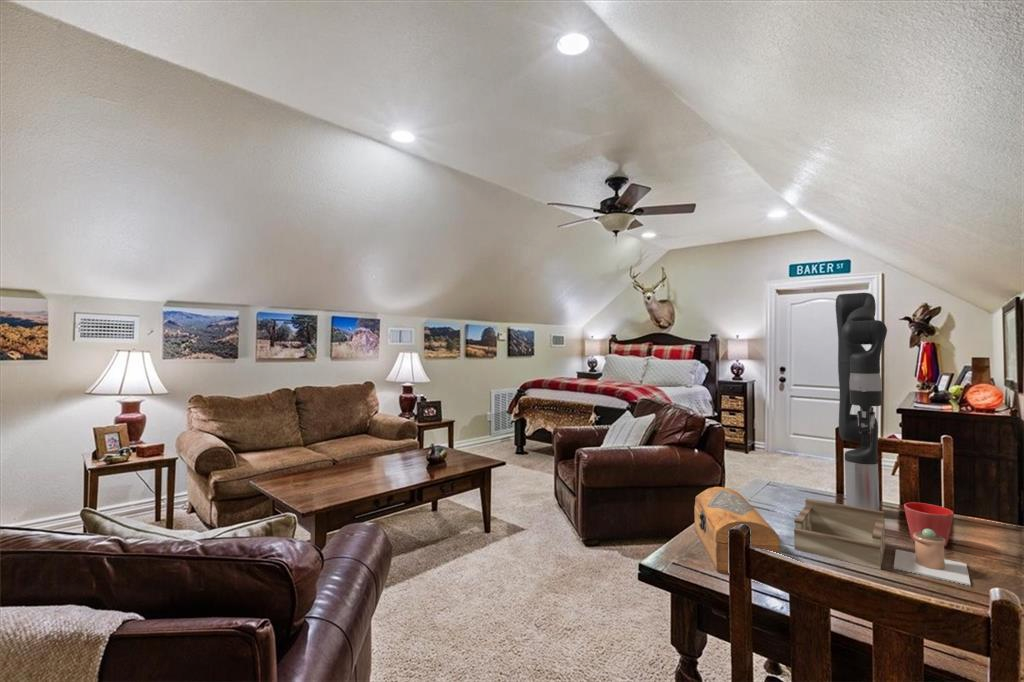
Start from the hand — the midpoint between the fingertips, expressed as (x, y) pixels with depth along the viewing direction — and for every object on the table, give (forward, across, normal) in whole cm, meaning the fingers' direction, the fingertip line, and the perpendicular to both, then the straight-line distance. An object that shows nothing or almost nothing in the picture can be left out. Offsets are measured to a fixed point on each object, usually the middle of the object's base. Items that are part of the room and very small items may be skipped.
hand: (867, 444), depth 137 cm
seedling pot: (+28, +10, +13) cm, 32 cm away
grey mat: (+28, +10, +13) cm, 33 cm away
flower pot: (+28, -11, +13) cm, 33 cm away
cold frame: (+28, +10, -6) cm, 30 cm away
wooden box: (+29, +32, -29) cm, 51 cm away
